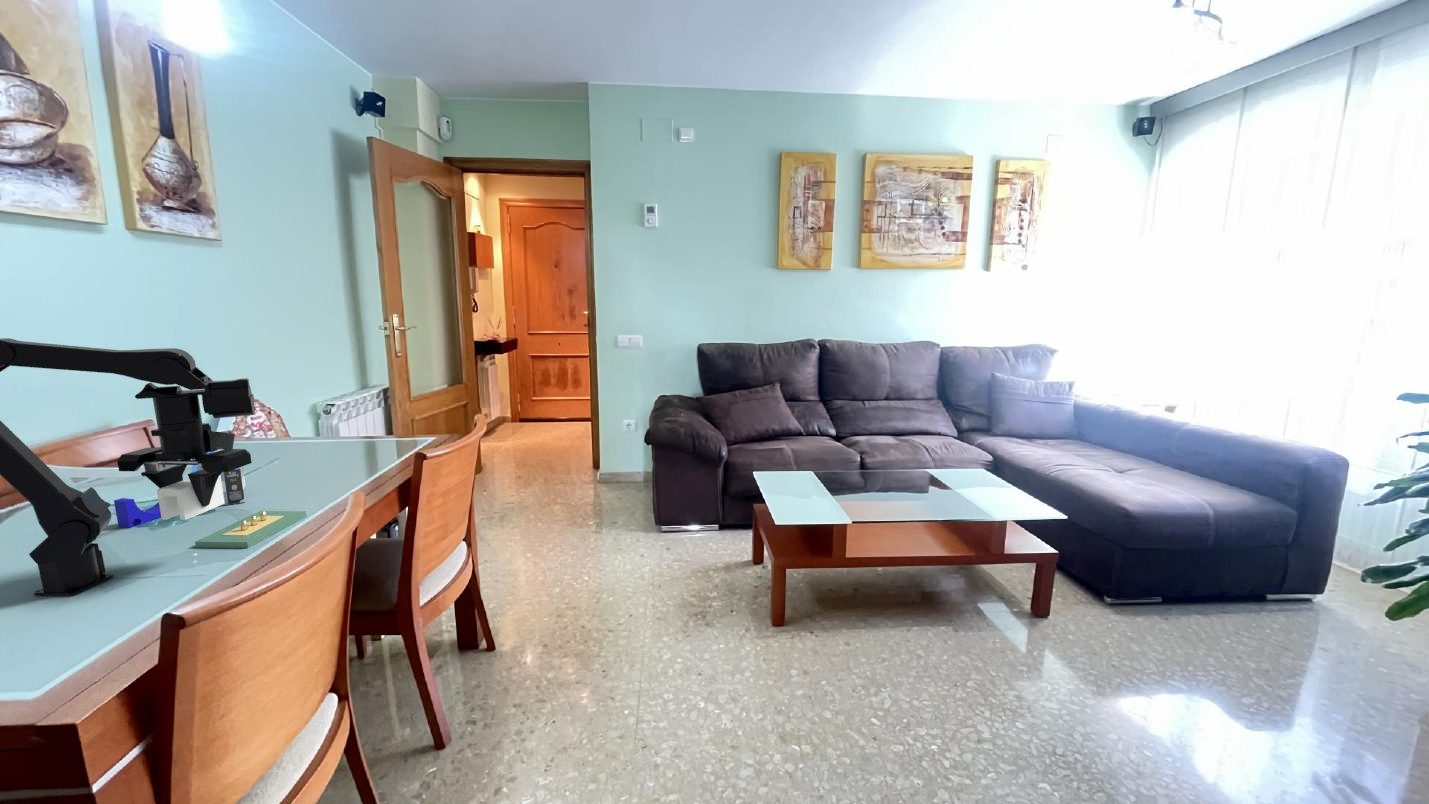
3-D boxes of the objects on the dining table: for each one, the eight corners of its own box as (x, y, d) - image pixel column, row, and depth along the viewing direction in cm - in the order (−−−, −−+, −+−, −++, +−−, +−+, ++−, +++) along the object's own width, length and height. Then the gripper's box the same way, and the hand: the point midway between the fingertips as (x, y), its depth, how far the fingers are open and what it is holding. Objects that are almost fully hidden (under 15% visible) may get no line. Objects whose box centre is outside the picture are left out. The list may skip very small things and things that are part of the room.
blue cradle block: (176, 506, 129) (172, 481, 128) (192, 508, 128) (188, 483, 127) (113, 527, 117) (107, 499, 116) (130, 529, 116) (125, 501, 115)
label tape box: (195, 510, 126) (186, 458, 124) (198, 504, 130) (190, 453, 127) (245, 503, 131) (238, 452, 129) (247, 498, 134) (240, 448, 132)
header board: (248, 548, 108) (245, 532, 108) (196, 547, 108) (193, 531, 107) (306, 516, 124) (304, 502, 123) (261, 515, 124) (259, 502, 123)
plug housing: (185, 520, 96) (180, 489, 96) (161, 519, 96) (156, 489, 95) (224, 503, 104) (220, 475, 103) (203, 503, 104) (198, 475, 103)
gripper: (269, 412, 105) (279, 491, 108) (169, 411, 105) (182, 490, 108) (218, 425, 94) (231, 512, 97) (106, 424, 94) (123, 511, 97)
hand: (193, 505), depth 100 cm, fingers closed on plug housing, 4 cm apart
